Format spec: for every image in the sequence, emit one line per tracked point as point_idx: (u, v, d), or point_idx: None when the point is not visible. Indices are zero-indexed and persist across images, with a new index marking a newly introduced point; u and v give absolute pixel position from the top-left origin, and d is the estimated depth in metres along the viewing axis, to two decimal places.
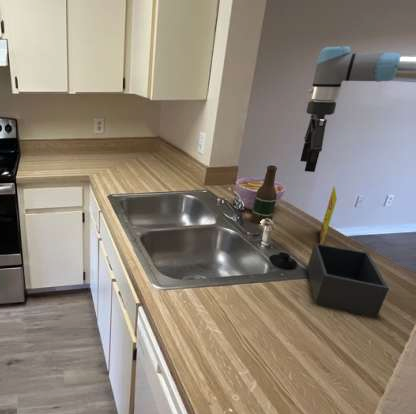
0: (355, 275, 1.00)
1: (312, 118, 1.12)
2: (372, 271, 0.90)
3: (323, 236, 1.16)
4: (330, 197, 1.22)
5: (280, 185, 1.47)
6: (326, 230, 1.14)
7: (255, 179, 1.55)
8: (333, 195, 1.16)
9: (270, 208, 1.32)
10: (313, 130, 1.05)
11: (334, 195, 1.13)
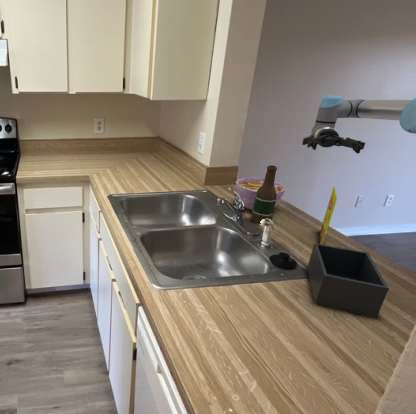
0: (355, 275, 1.00)
1: None
2: (372, 271, 0.90)
3: (323, 236, 1.16)
4: (330, 197, 1.22)
5: (280, 185, 1.47)
6: (326, 230, 1.14)
7: (255, 179, 1.55)
8: (333, 195, 1.16)
9: (270, 208, 1.32)
10: None
11: (334, 195, 1.13)
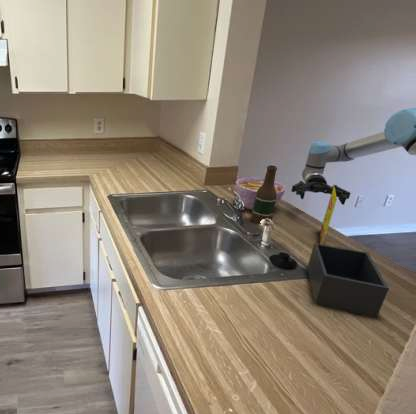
0: (355, 275, 1.00)
1: None
2: (372, 271, 0.90)
3: (323, 236, 1.16)
4: (330, 197, 1.22)
5: (280, 185, 1.47)
6: (326, 230, 1.14)
7: (255, 179, 1.55)
8: (333, 195, 1.16)
9: (270, 208, 1.32)
10: None
11: (334, 195, 1.13)
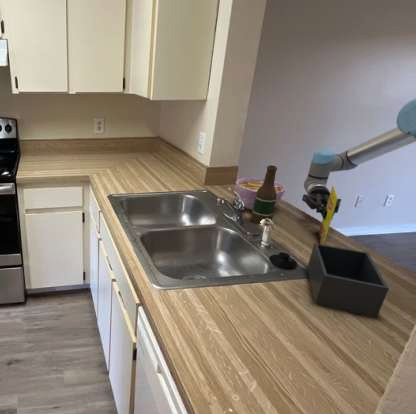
0: (355, 275, 1.00)
1: None
2: (372, 271, 0.90)
3: (324, 236, 1.16)
4: (329, 197, 1.22)
5: (280, 185, 1.47)
6: (327, 230, 1.13)
7: (255, 179, 1.55)
8: (333, 195, 1.16)
9: (270, 208, 1.32)
10: None
11: (334, 195, 1.13)
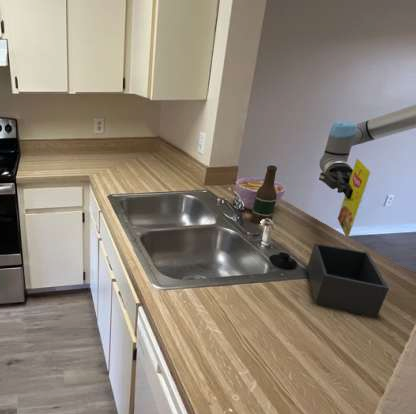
0: (355, 275, 1.00)
1: None
2: (372, 271, 0.90)
3: (350, 220, 0.94)
4: (352, 173, 1.00)
5: (280, 185, 1.47)
6: (355, 212, 0.91)
7: (255, 179, 1.55)
8: (360, 169, 0.94)
9: (270, 208, 1.32)
10: None
11: (363, 168, 0.91)
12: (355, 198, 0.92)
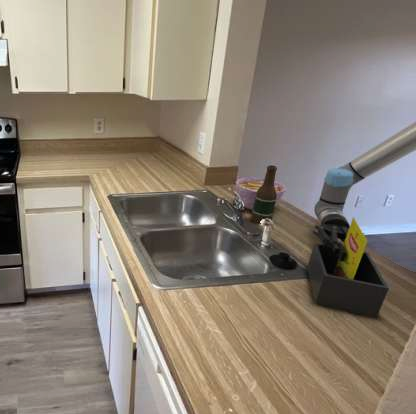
0: (355, 275, 1.00)
1: None
2: (372, 271, 0.90)
3: None
4: (348, 231, 0.95)
5: (280, 185, 1.47)
6: None
7: (255, 179, 1.55)
8: (356, 232, 0.89)
9: (270, 208, 1.32)
10: (329, 238, 1.03)
11: (360, 233, 0.86)
12: (351, 263, 0.87)
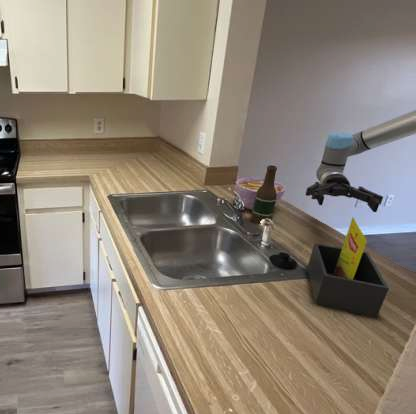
0: (355, 275, 1.00)
1: None
2: (372, 271, 0.90)
3: None
4: None
5: (280, 185, 1.47)
6: None
7: (255, 179, 1.55)
8: (356, 232, 0.89)
9: (270, 208, 1.32)
10: None
11: (359, 233, 0.86)
12: (351, 263, 0.87)
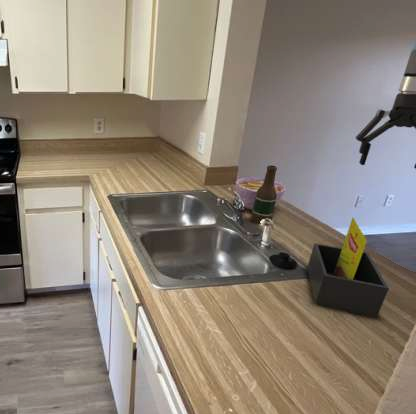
0: (355, 275, 1.00)
1: None
2: (372, 271, 0.90)
3: None
4: None
5: (280, 185, 1.47)
6: None
7: (255, 179, 1.55)
8: (356, 232, 0.89)
9: (270, 208, 1.32)
10: (385, 123, 0.98)
11: (359, 233, 0.86)
12: (351, 263, 0.87)
